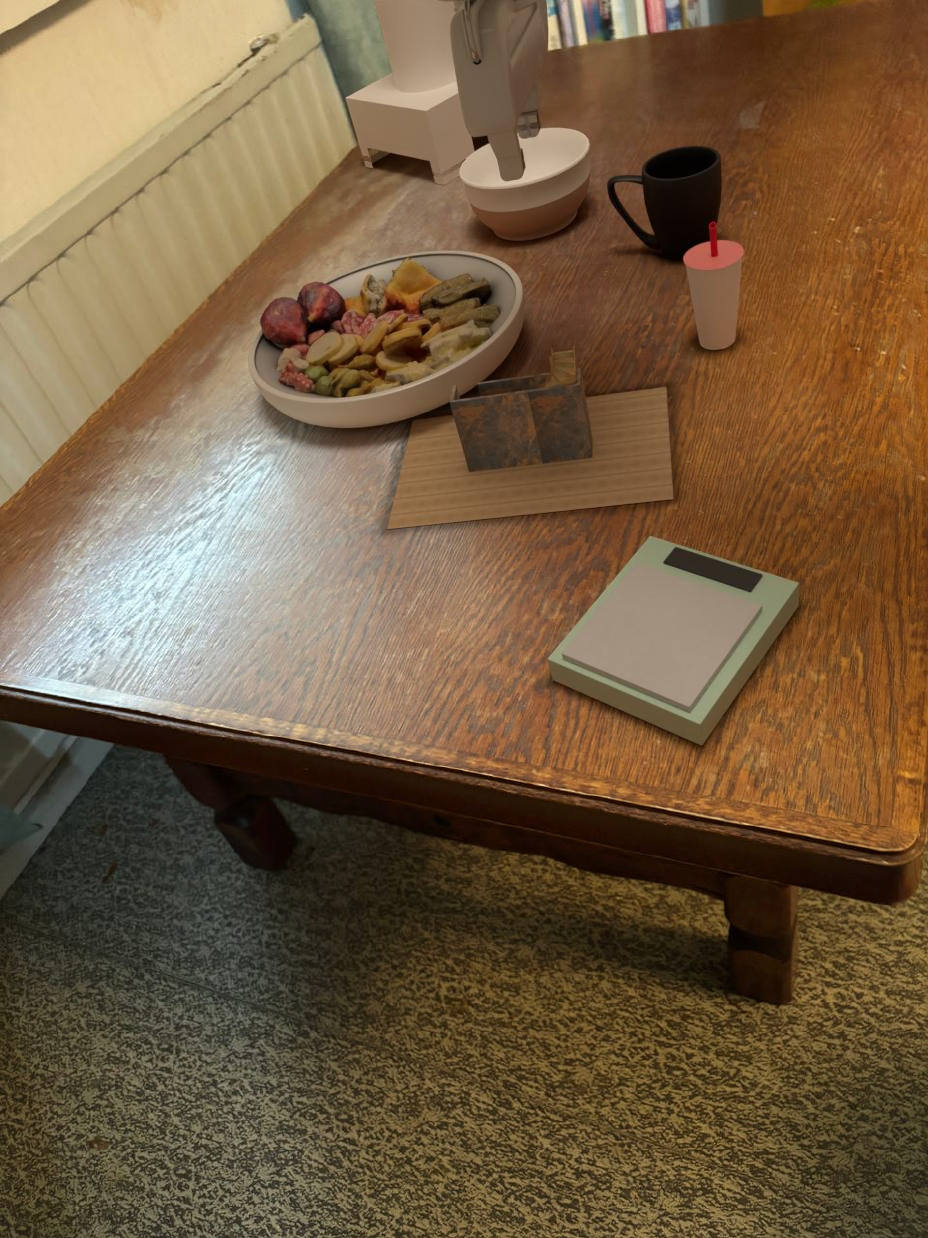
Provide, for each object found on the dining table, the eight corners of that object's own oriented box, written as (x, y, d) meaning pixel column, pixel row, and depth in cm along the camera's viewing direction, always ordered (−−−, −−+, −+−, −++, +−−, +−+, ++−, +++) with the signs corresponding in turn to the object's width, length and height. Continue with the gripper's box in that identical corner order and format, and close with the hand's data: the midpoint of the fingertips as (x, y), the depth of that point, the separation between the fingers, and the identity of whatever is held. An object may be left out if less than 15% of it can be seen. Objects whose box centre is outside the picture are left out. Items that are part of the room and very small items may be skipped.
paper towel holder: (365, 166, 148) (297, -64, 127) (454, 115, 154) (404, -112, 133) (443, 184, 136) (383, -66, 115) (536, 128, 142) (495, -118, 121)
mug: (622, 236, 113) (612, 154, 107) (727, 226, 109) (724, 140, 103) (610, 271, 108) (599, 187, 102) (720, 263, 104) (716, 175, 97)
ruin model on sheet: (666, 386, 91) (657, 291, 84) (673, 499, 80) (664, 400, 73) (412, 420, 97) (385, 334, 90) (386, 529, 86) (353, 440, 79)
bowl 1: (557, 279, 109) (545, 211, 104) (491, 440, 90) (472, 367, 85) (324, 300, 120) (302, 239, 115) (220, 447, 101) (188, 383, 96)
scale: (799, 606, 69) (799, 576, 67) (702, 746, 63) (699, 718, 61) (652, 557, 76) (649, 529, 74) (552, 680, 70) (545, 653, 68)
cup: (729, 359, 92) (725, 239, 83) (679, 350, 95) (670, 233, 86) (755, 329, 94) (753, 209, 86) (705, 321, 97) (698, 205, 89)
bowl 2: (598, 180, 125) (590, 116, 120) (597, 237, 115) (588, 170, 109) (478, 202, 129) (465, 142, 124) (467, 260, 118) (451, 196, 113)
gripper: (508, -21, 61) (544, 199, 70) (548, -82, 75) (574, 107, 84) (414, 0, 63) (461, 212, 72) (470, -63, 77) (504, 120, 86)
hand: (522, 155), depth 78 cm, fingers open, 8 cm apart
